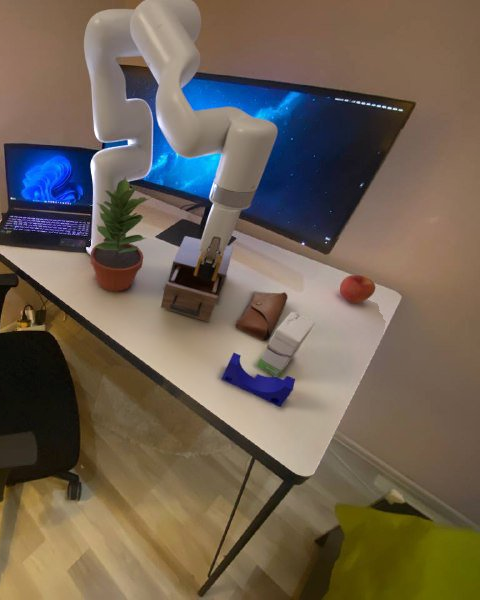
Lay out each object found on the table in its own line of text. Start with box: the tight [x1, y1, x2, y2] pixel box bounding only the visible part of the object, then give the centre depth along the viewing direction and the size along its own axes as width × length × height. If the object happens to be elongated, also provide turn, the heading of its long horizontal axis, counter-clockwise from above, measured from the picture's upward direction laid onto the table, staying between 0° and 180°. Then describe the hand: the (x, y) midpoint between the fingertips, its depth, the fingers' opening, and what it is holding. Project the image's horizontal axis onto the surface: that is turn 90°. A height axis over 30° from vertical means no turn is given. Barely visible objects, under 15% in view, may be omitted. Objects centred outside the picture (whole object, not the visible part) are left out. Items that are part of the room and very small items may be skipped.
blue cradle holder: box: [221, 352, 296, 408], centre depth 72 cm, size 12×4×6 cm, turn 56°
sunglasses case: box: [234, 291, 288, 342], centre depth 89 cm, size 18×7×7 cm
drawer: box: [160, 265, 220, 323], centre depth 89 cm, size 18×12×8 cm
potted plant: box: [90, 176, 151, 292], centre depth 91 cm, size 15×15×30 cm
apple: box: [339, 274, 376, 304], centre depth 93 cm, size 7×7×8 cm
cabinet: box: [167, 235, 234, 303], centre depth 98 cm, size 15×14×10 cm
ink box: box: [256, 311, 316, 378], centre depth 75 cm, size 9×5×12 cm, turn 134°
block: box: [194, 251, 224, 281], centre depth 75 cm, size 4×4×4 cm
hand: (206, 271), depth 76 cm, fingers closed on block, 4 cm apart
